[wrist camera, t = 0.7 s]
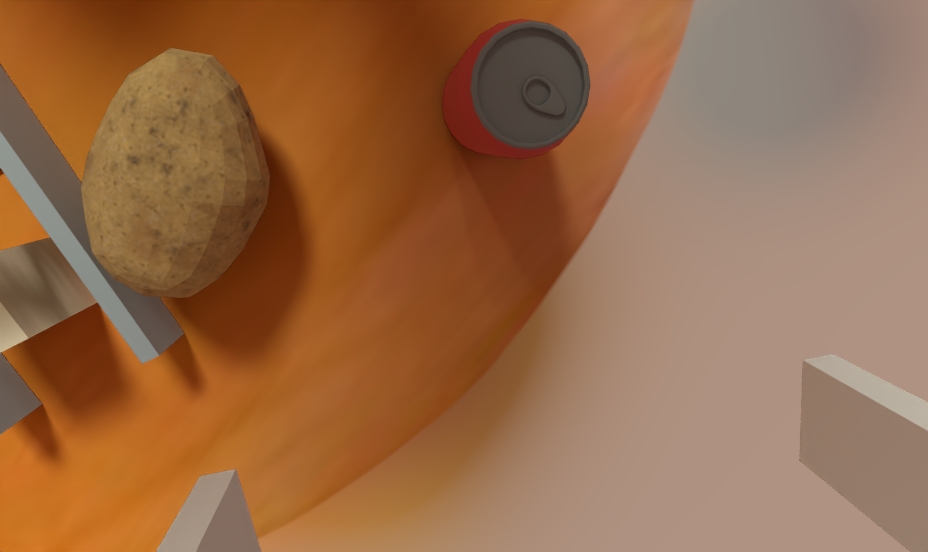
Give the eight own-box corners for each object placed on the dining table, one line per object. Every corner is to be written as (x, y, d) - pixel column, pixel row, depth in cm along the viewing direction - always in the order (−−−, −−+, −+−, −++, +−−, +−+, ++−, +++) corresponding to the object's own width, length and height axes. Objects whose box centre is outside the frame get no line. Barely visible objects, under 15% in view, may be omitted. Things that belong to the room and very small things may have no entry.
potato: (306, 89, 34) (279, 74, 27) (258, 291, 37) (221, 330, 30) (147, 36, 33) (69, 5, 25) (109, 253, 36) (28, 284, 28)
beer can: (502, 173, 37) (547, 188, 25) (422, 118, 36) (431, 107, 24) (556, 90, 36) (629, 66, 25) (477, 30, 35) (514, -26, 23)
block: (-17, 270, 35) (-117, 301, 28) (51, 236, 35) (-33, 259, 28) (33, 334, 36) (-52, 378, 30) (98, 301, 36) (28, 338, 29)
